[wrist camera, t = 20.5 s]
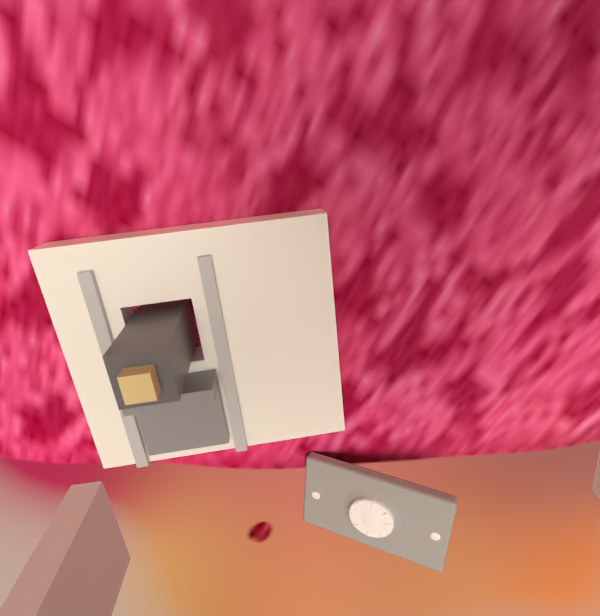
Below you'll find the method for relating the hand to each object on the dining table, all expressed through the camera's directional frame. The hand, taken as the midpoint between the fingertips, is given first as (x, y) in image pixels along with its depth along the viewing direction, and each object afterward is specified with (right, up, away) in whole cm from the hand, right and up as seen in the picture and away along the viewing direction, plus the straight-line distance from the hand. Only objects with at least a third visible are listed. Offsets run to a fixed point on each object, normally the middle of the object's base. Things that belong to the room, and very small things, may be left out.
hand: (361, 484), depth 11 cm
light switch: (+5, -14, +34) cm, 37 cm away
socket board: (-10, +2, +26) cm, 28 cm away
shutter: (-12, -4, +25) cm, 28 cm away
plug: (-13, +4, +25) cm, 29 cm away
